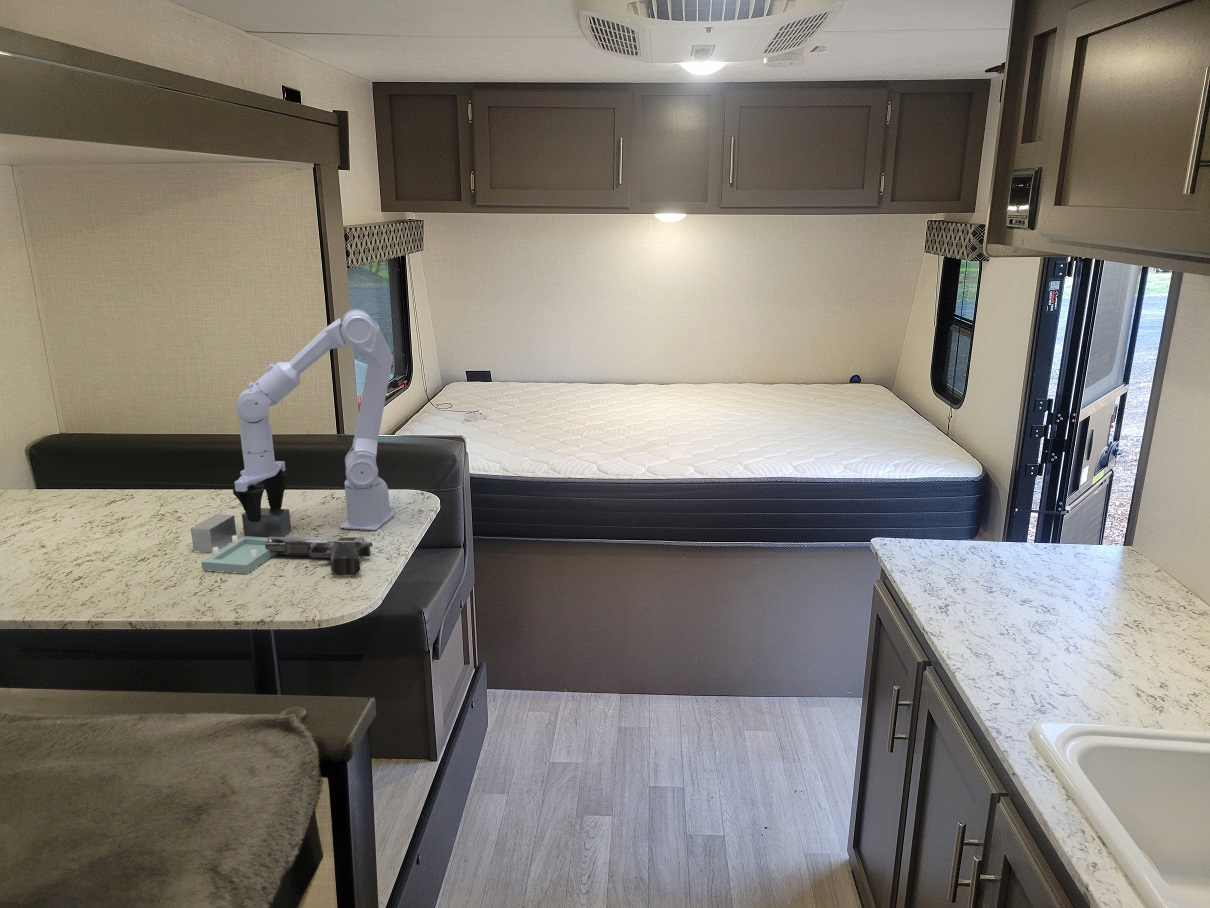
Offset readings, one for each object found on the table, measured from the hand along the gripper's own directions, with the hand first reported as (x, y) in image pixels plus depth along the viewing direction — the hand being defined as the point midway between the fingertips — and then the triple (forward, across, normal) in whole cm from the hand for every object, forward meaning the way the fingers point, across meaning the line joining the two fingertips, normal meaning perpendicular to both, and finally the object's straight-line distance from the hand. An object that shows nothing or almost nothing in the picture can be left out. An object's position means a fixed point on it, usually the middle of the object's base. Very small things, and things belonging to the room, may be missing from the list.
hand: (265, 514), depth 170 cm
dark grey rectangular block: (+4, 0, 0) cm, 4 cm away
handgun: (+4, +13, +17) cm, 22 cm away
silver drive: (+4, +7, -7) cm, 11 cm away
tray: (+4, +12, +3) cm, 14 cm away
